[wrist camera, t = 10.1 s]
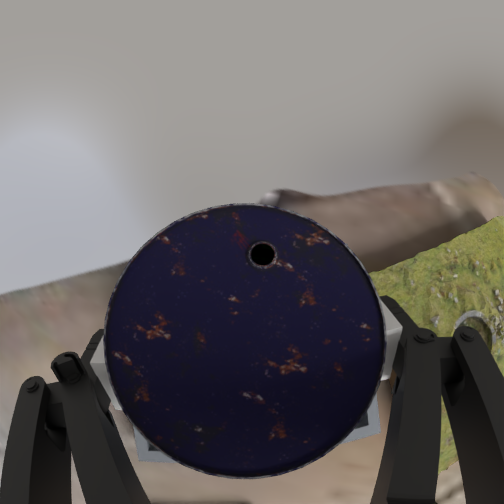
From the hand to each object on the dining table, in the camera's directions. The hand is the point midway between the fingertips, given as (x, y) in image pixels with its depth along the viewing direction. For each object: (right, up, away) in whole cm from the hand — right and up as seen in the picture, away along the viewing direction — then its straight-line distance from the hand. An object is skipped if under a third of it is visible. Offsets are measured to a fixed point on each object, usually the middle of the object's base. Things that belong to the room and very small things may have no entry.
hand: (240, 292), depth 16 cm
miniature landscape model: (+25, -7, +10) cm, 28 cm away
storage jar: (0, -6, +7) cm, 10 cm away
